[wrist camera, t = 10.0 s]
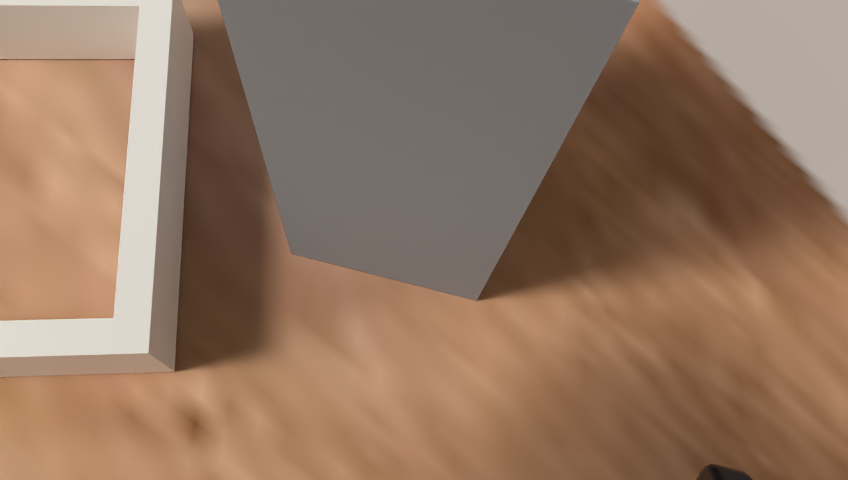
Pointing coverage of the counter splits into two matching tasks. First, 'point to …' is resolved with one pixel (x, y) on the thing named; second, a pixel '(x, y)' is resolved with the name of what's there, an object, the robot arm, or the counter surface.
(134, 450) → the counter surface
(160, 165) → the tray
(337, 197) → the slate block
